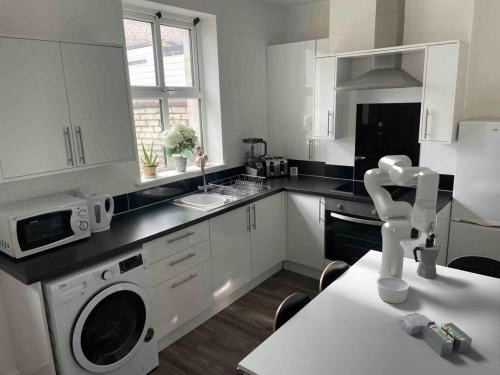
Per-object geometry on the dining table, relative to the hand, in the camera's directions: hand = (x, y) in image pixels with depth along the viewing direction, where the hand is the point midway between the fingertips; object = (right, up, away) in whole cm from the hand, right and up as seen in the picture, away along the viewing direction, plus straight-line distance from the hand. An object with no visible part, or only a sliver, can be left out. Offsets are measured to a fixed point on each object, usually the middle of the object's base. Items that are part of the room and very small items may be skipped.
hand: (421, 242), depth 155 cm
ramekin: (-6, -27, +17) cm, 33 cm away
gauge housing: (+2, -35, -16) cm, 38 cm away
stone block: (-5, -32, -4) cm, 33 cm away
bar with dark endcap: (+1, -33, -13) cm, 36 cm away
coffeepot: (+18, -22, +38) cm, 47 cm away
